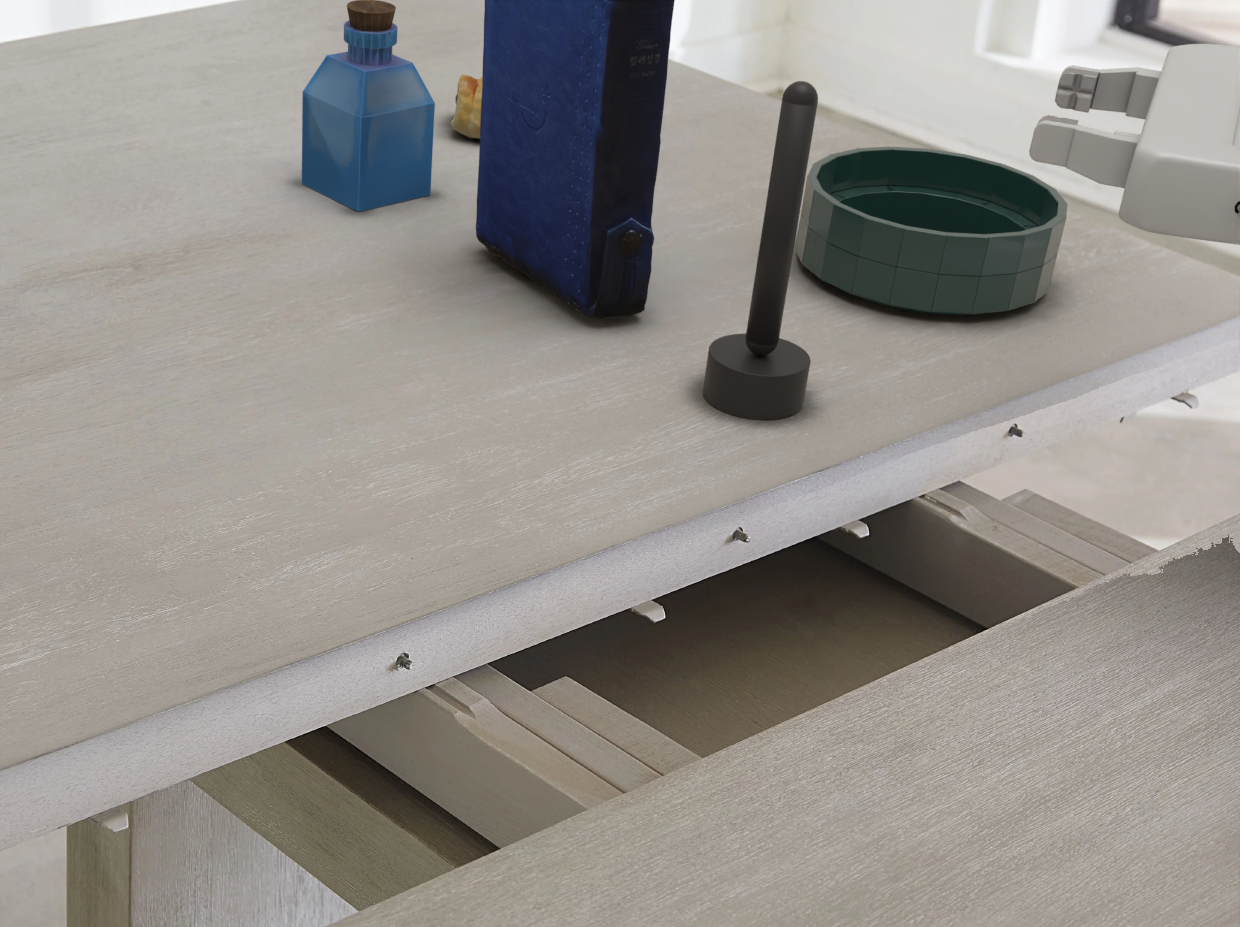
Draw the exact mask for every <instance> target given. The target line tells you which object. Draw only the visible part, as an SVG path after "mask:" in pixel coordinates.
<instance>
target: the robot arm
mask: <svg viewBox="0 0 1240 927" xmlns="http://www.w3.org/2000/svg"><path fill="white" fill-rule="evenodd" d="M1055 92H1056V93H1055V98H1054V102H1055V104H1056V106H1058V108H1060V109H1065V110H1073V111H1076V112H1081V113H1087V114H1088V113H1089V112H1090V110H1096V111H1104V112H1105V111H1106V112H1113V113H1123V114H1124V113H1125V114H1124V115H1125V116H1126V117H1128V118H1133V119H1134V118H1135V119H1142V120H1144V121H1143V125H1142V128H1141V131H1140V134H1139V133H1133V132H1127V131H1122V130H1114V132H1113V133H1112V132H1108V131H1104V130H1100V129H1097V128H1092V127H1088V126H1084V125H1080V124H1078V123H1079V119H1073V118H1067V117H1058V116H1055V115H1044V116H1042V117H1041V118H1040V119H1039V120H1038V121H1037V123H1036V125H1035V127H1034V130H1033V134H1032V138H1031V141H1030V147H1029V150H1028V152H1029V153H1028V154H1029V156H1030V158H1031V160H1033V161H1034V162H1037V163H1041V164H1048V165H1052V166H1058V167H1063V168H1065V169H1066V170H1069V171H1071V172H1074V173H1076V174H1079V175H1080V176H1082V177H1083V178H1087V179H1088V180H1091V181H1093V182H1095V183H1097V184H1099V185H1104V186H1111V187H1116V188H1121V189H1123V193H1122V198H1121V201H1120V205H1119V210H1118V217H1119V219H1120V220H1121V221H1122V222H1123V223H1125V224H1126V225H1127V224H1128V225H1129V226H1131V227H1134V228H1136V229H1139V230H1140V231H1144V232H1146V233H1147V232H1148V233H1151V234H1157V235H1163V236H1169V237H1178V238H1183V239H1191V240H1197V241H1206V242H1215V243H1222V244H1229V245H1237V246H1240V46H1239V45H1230V44H1229V45H1228V44H1216V43H1189V44H1181V45H1175V46H1172V47H1170V48H1169V49H1168V50H1167V53H1166V56H1165V59H1164V62H1163V65H1162V68H1161V70H1158V69H1157V70H1156V69H1150V68H1144V67H1137V66H1135V67H1119V68H1101V69H1100V68H1099V69H1098V68H1092V67H1086V66H1080V65H1068V66H1067V67H1065V68H1064V69H1063V71H1062V72H1061V75H1060V77H1059V80H1058V85H1057V89H1056V91H1055Z"/></svg>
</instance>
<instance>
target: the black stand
mask: <svg viewBox="0 0 1240 927" xmlns="http://www.w3.org/2000/svg"><path fill="white" fill-rule="evenodd" d="M818 103H819V94H818V91H817V89H816V87H815V86H814V85H812V84H811V83H810V82H808V81H804V80H797V81H794V82H792V83H790V84H789V85H788V86H787V87H786V88H785V90H784V92H783V94H782V98H781V103H780V111H779V119H778V124H777V131H776V137H775V144H774V149H773V155H772V162H771V168H770V169H771V170H770V176H769V183H768V189H767V196H766V202H765V208H764V215H763V221H762V228H761V234H760V235H761V236H760V241H759V248H758V254H757V261H756V267H755V273H754V280H753V287H752V292H751V300H750V306H749V311H748V312H749V313H748V319H747V324H746V325H747V326H746V333H734V334H728V335H724V336H720V337H718V338H717V339H715V340H713V341H712V342H711V343H710V345H709V347H708V352H707V358H706V367H705V372H704V380H703V385H702V386H703V387H702V394H703V397H704V399H705V400H706V402H707V403H708V404H710V405H711V406H712V407H714V408H715V409H717V410H719V411H721V412H723V413H726V414H728V415H732V416H736V417H740V418H745V419H750V420H751V419H752V420H762V421H763V420H767V421H768V420H779V419H785V418H787V417H791V416H794V415H795V414H797V413H798V412H800V411H801V409H802V408H803V406H804V402H805V397H806V396H805V395H806V390H807V384H808V380H809V373H810V368H811V356H810V355H809V354H808V352H807V351H806V350H805V349H803V347H801V346H800V345H798V344H796V343H794V342H791V341H790V340H787V339H783V338H780V334H781V328H782V323H783V317H784V310H785V305H786V298H787V297H786V296H787V294H788V293H787V292H788V285H789V279H790V273H791V268H792V262H793V256H794V255H793V254H794V250H795V245H796V239H797V233H798V227H799V221H800V215H801V209H802V202H803V196H804V190H805V184H806V178H807V170H808V166H809V165H808V164H809V158H810V152H811V146H812V140H813V134H814V129H815V128H814V127H815V122H816V115H817V110H818Z"/></svg>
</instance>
